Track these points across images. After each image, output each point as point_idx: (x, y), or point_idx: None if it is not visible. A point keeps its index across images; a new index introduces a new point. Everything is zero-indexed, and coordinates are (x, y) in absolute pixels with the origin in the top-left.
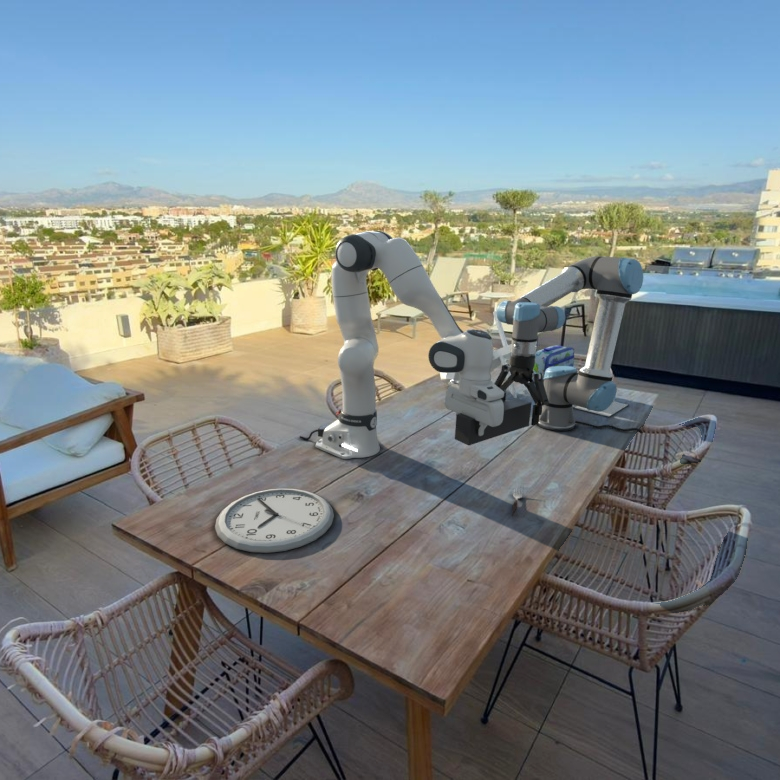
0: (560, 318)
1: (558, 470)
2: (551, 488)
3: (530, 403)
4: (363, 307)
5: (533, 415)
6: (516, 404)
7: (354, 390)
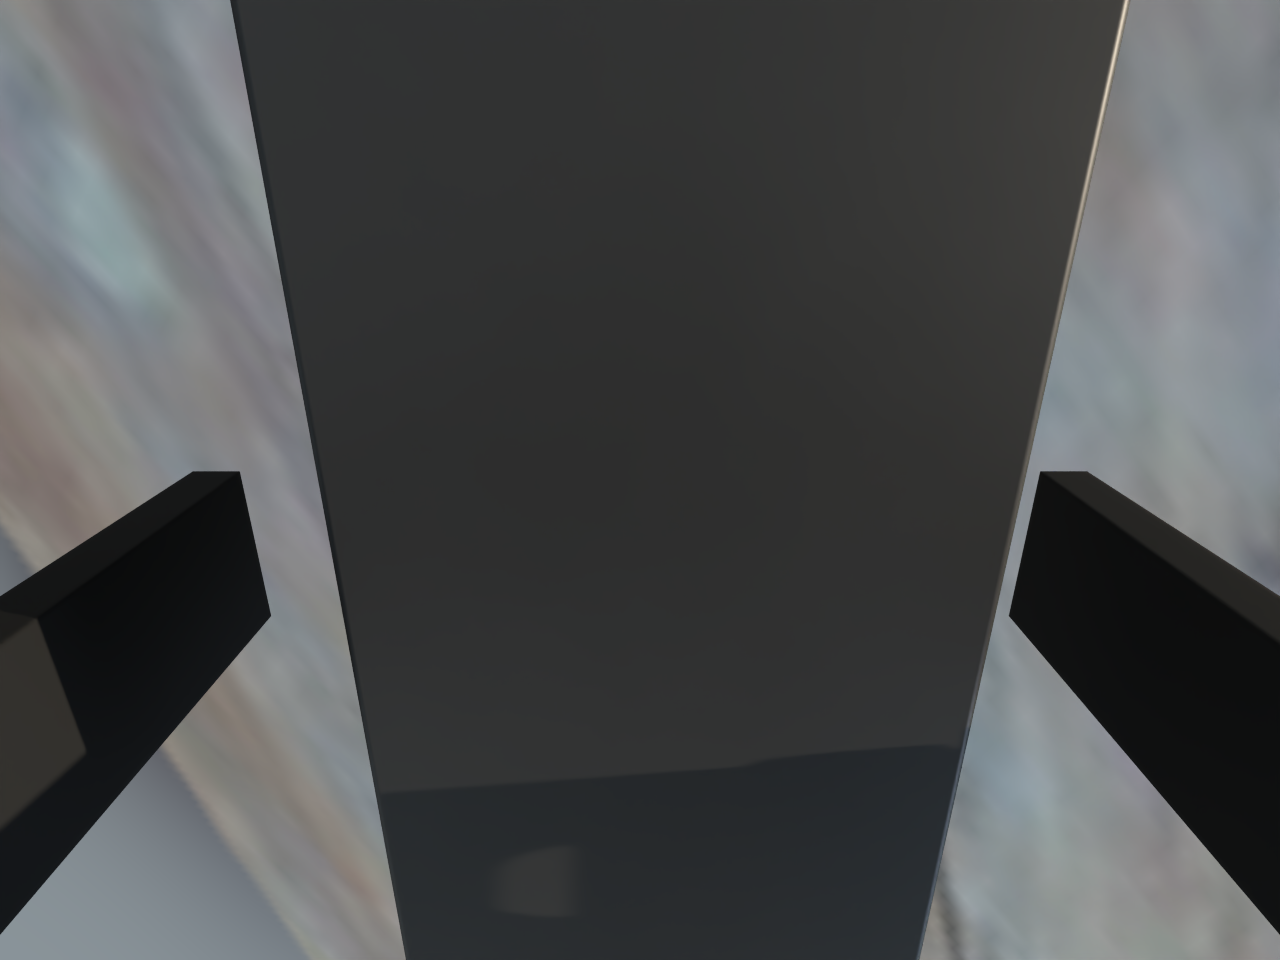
0: None
1: (309, 511)
2: (65, 177)
3: (409, 947)
4: None
5: (58, 571)
6: (510, 576)
7: None
